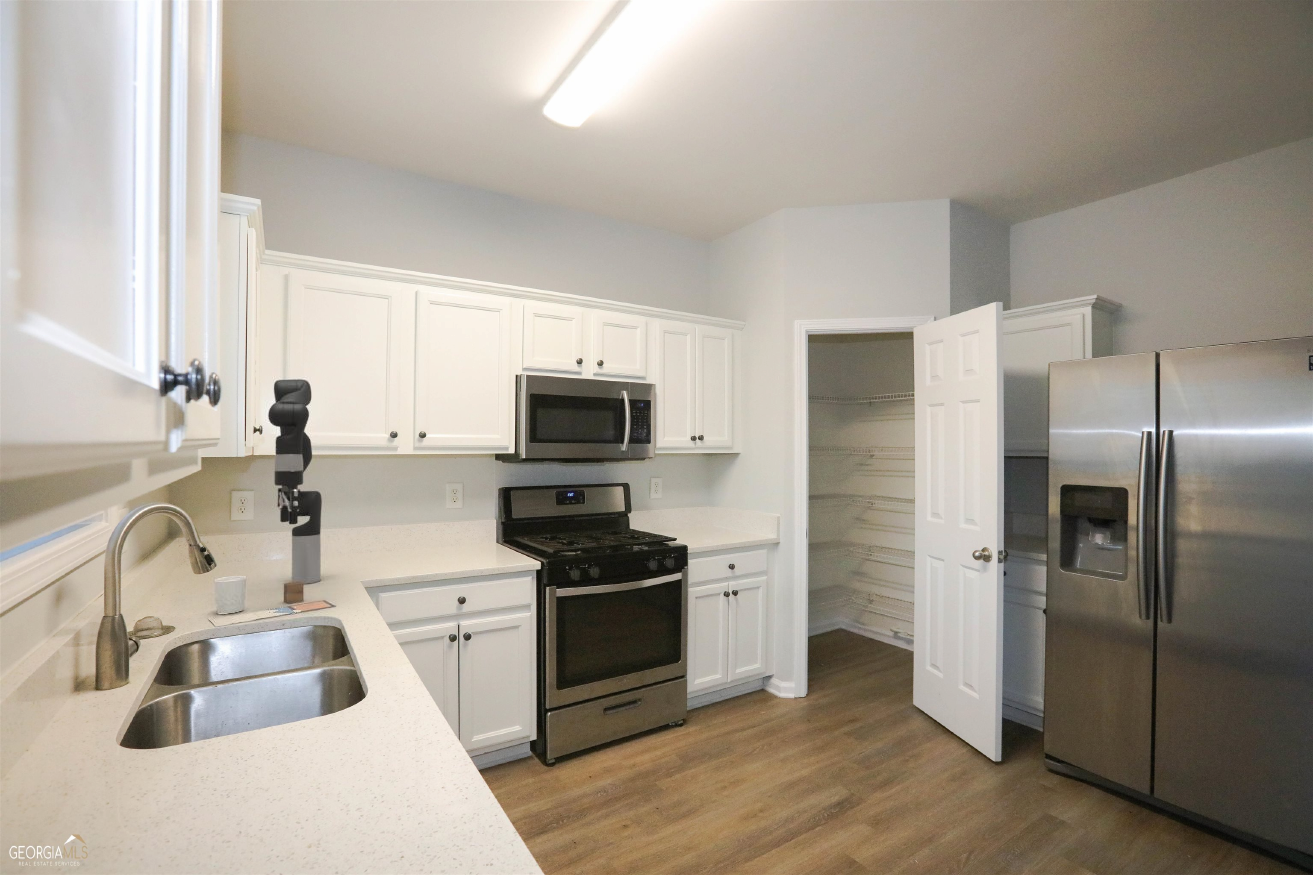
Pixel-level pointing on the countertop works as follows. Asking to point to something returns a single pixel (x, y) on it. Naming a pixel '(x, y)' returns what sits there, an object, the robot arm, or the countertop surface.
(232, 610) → the white cup
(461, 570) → the countertop surface
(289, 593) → the walnut block
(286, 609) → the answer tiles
